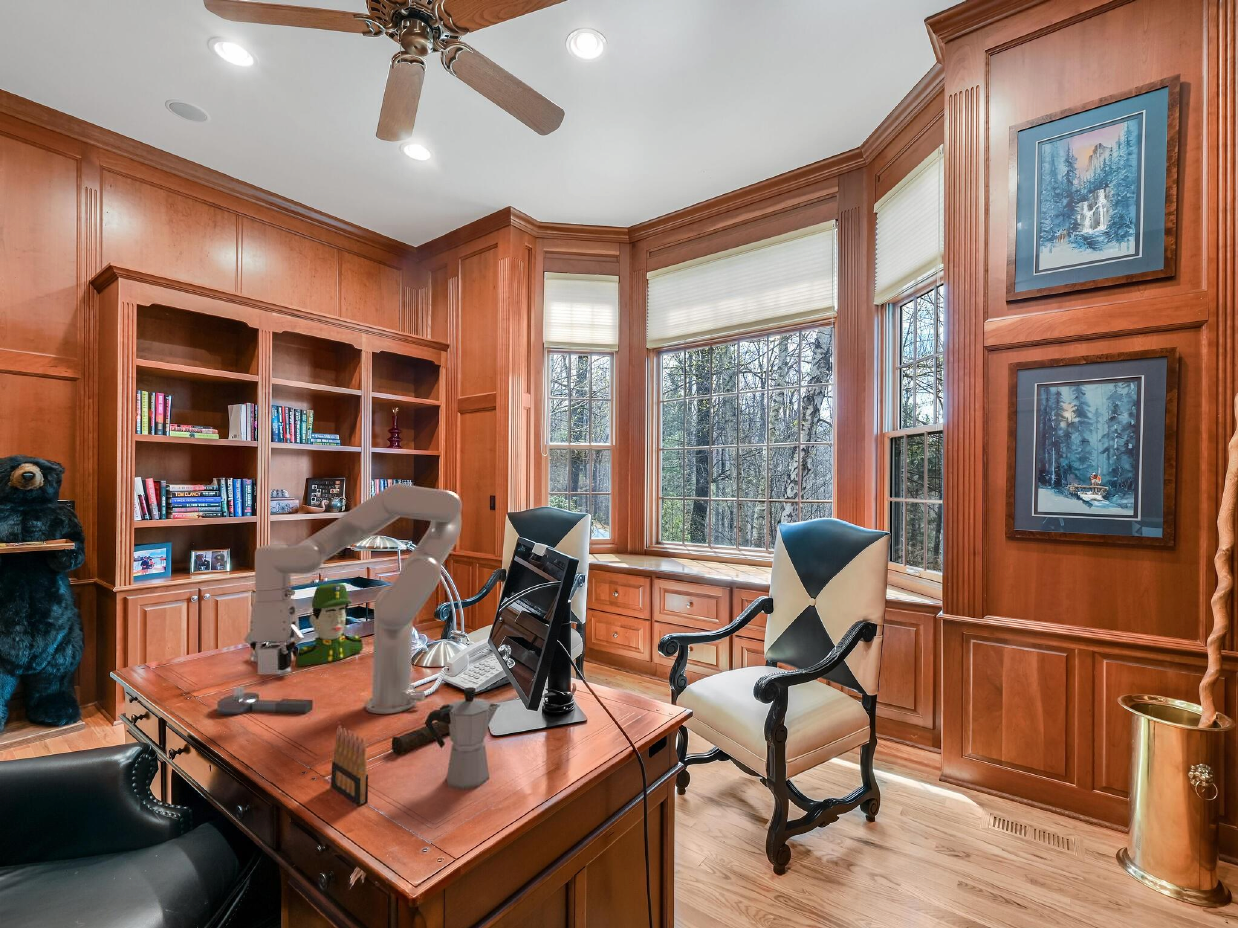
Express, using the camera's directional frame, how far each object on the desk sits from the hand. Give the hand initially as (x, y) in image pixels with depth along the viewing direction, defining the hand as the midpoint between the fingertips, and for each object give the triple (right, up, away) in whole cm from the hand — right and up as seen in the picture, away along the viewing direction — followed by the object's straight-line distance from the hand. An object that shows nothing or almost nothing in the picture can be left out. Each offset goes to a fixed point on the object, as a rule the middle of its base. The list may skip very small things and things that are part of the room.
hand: (274, 667), depth 141 cm
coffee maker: (+54, -14, -26) cm, 61 cm away
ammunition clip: (+34, -13, -32) cm, 48 cm away
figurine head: (-10, -15, +48) cm, 51 cm away
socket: (0, -1, 0) cm, 1 cm away
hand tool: (+41, -14, -8) cm, 45 cm away
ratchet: (-6, -13, +7) cm, 16 cm away
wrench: (-24, -14, +38) cm, 47 cm away
